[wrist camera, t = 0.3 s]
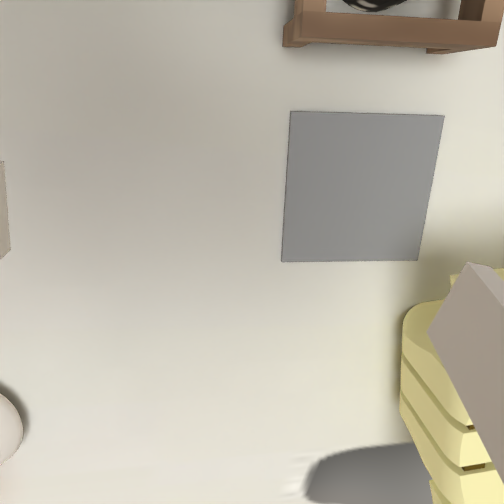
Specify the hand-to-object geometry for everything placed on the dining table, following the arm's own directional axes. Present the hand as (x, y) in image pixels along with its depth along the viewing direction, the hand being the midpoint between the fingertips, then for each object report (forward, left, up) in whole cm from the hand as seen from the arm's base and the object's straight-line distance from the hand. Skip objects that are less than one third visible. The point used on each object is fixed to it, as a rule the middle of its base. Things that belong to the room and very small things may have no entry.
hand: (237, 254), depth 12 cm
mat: (+4, +14, -26) cm, 30 cm away
